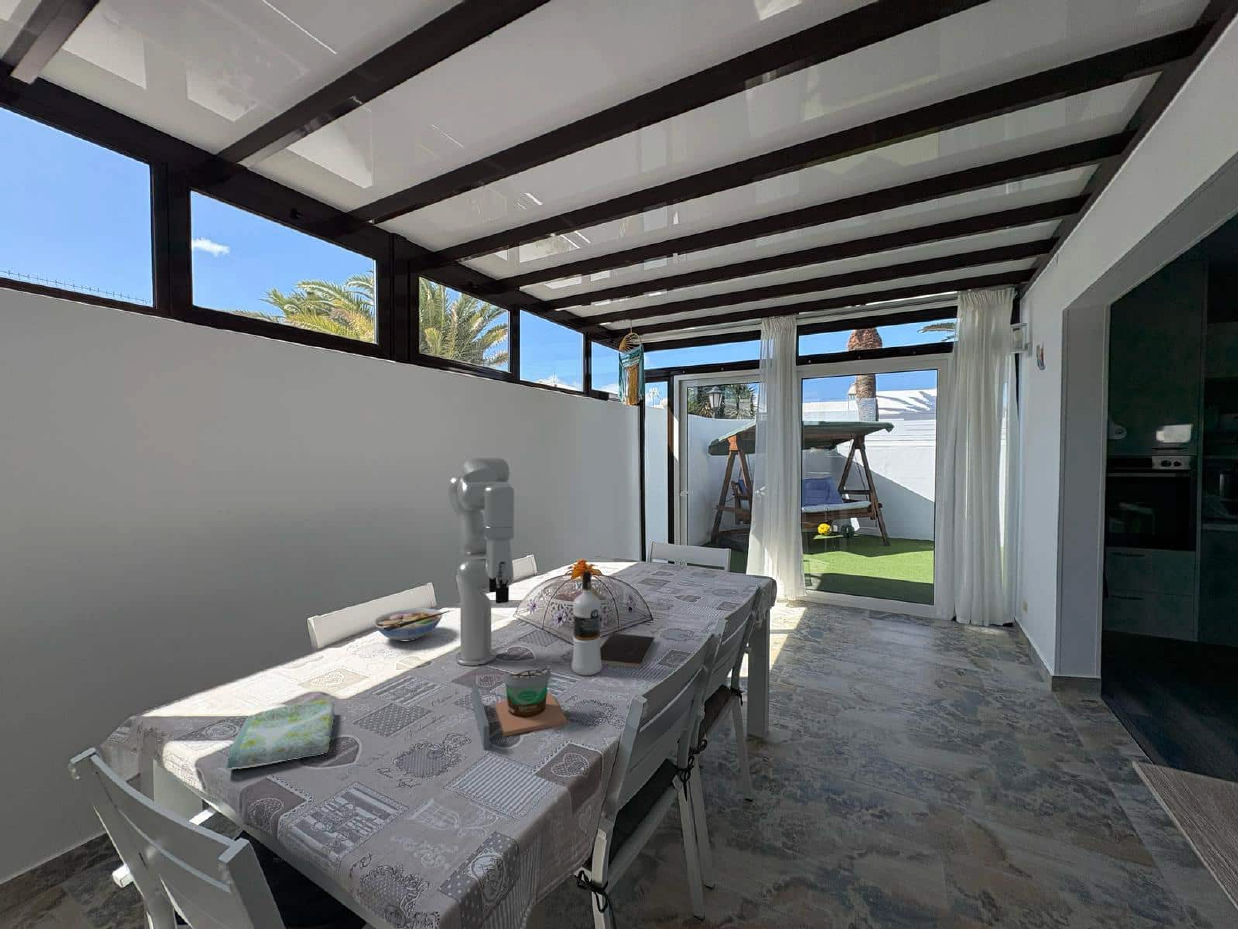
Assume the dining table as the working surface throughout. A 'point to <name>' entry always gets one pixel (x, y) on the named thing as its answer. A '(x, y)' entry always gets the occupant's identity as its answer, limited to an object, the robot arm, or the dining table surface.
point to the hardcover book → (625, 650)
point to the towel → (283, 734)
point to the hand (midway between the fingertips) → (498, 597)
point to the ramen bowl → (408, 623)
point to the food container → (527, 692)
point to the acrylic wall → (480, 716)
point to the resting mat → (529, 718)
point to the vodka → (586, 631)
